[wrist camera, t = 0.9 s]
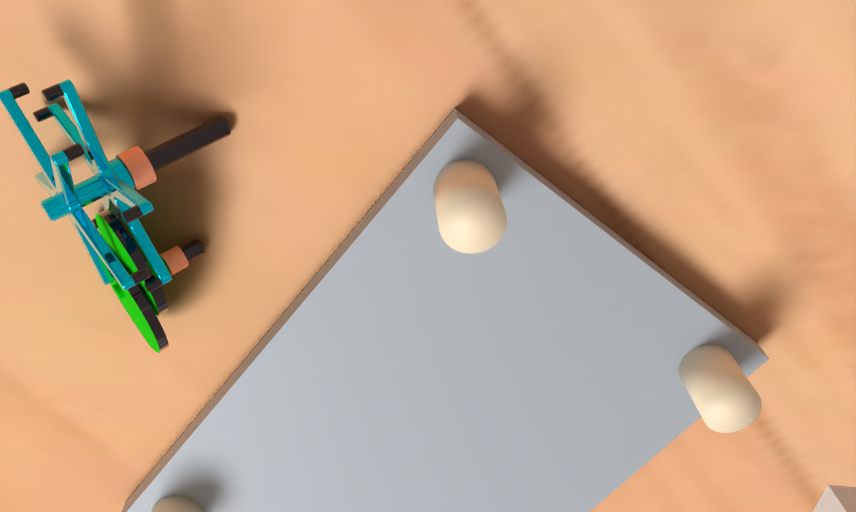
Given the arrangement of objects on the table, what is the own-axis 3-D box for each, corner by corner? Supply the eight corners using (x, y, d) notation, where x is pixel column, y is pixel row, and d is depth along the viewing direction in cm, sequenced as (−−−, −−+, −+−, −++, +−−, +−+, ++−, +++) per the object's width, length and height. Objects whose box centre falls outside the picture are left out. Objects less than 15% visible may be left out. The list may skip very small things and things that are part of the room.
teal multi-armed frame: (-49, 63, 26) (38, 169, 22) (145, -11, 29) (256, 69, 25) (85, 305, 35) (167, 417, 30) (224, 228, 38) (318, 320, 33)
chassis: (125, 502, 38) (98, 574, 35) (454, 107, 30) (465, 147, 26) (415, 639, 45) (419, 712, 41) (757, 343, 36) (801, 401, 32)
